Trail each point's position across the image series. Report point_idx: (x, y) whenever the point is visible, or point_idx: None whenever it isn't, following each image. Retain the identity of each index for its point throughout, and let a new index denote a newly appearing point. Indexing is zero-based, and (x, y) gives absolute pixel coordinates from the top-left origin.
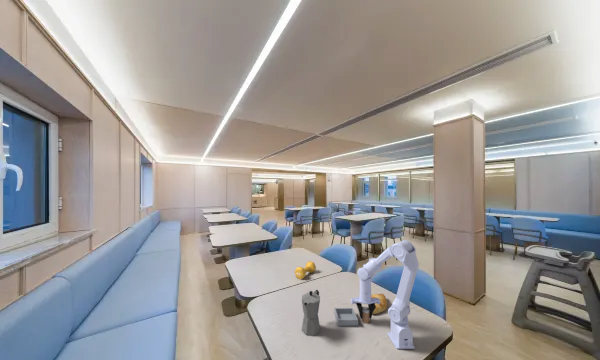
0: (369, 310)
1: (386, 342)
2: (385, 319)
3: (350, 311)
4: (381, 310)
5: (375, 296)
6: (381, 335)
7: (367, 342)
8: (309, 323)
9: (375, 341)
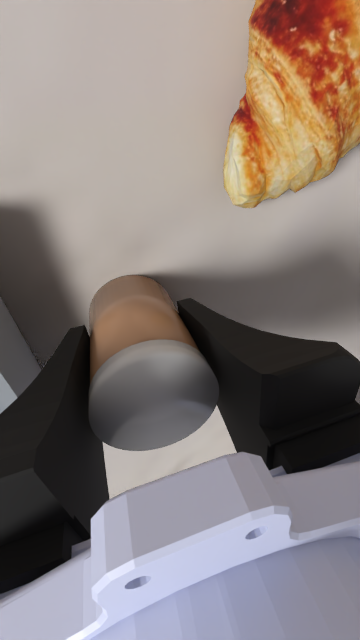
0: (210, 411)
1: (225, 449)
2: (327, 244)
3: None
4: None
5: None
6: (217, 418)
7: (122, 485)
8: None
9: (169, 464)
